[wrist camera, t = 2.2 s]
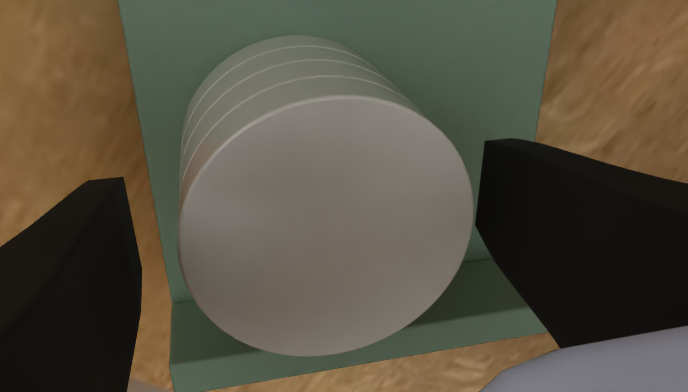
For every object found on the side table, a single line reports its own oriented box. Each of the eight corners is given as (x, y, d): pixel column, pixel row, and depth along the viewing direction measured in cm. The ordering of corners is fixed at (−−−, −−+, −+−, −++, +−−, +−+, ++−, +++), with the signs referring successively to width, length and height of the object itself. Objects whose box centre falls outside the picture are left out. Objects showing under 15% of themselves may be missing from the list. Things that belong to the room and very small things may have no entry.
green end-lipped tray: (472, 230, 20) (555, 332, 16) (178, 269, 19) (174, 398, 14) (545, -399, 13) (745, -559, 8) (58, -448, 11) (-39, -693, 6)
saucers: (398, 228, 16) (461, 334, 12) (195, 254, 15) (197, 378, 11) (406, 27, 14) (491, 83, 10) (164, 41, 12) (153, 109, 9)
